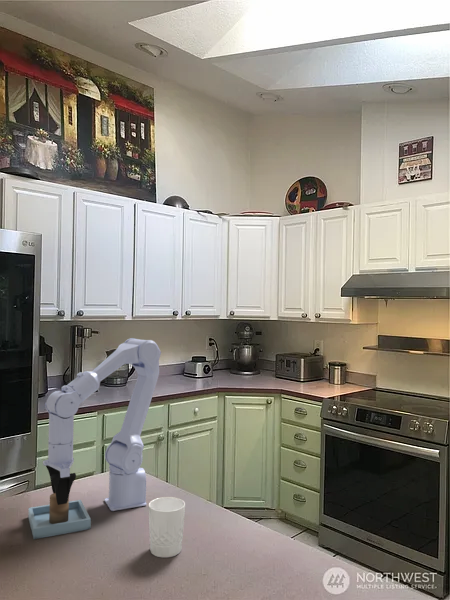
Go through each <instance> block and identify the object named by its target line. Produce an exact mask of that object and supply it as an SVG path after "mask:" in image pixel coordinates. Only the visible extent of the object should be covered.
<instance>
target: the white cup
mask: <svg viewBox="0 0 450 600" xmlns="http://www.w3.org/2000/svg"><path fill="white" fill-rule="evenodd" d="M185 509H186V502H185V500H183V499H181V498H179V497H174V496H162V497H157V498H154V499H152V500H150V501H149V503H148V530H149V533H148V534H149V536H148V537H149V550H150V553H151V554H152V555H153V556H155V557H156V558H157V557H158V558H163V559H164V558H172V557H175V556H177V555H178V554H180V553H181V551H182V545H183V537H184V536H183V535H184V526H185V513H186V512H185V511H186V510H185Z"/></svg>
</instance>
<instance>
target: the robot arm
mask: <svg viewBox="0 0 450 600" xmlns="http://www.w3.org/2000/svg"><path fill="white" fill-rule="evenodd" d="M161 354H162V351H161V349H160V347H159V345H158V344H157V342H155V340H153V339H139V338H134V337H131V338H128V339H126V340H125V341H124V342H122V343H120V344H118V347H117V348H116V349H115V350H114V351H113V352H112V353H111V354H109V356H107V357H106V358H105V359H104V360H103V361H102V362H101V363H99V364H98V365H97V366H96V367H95V368H94V369H93V370H92V371H90V370H89V371H88V370H84V371H82V372H81V371H80V372H78V373H77V374H76V377H75V378H74V379H73V380H71V381H70V382H68V383H67V385H62V386H61V390H56V391H53V392H51V394H49V396H48V397H47V399H46V401H45V403H44V408H45V410H46V411H47V413H48V446H47V447H48V449H47V450H48V455H47V459H46V460H43V461H42V466H45V467H46V469H47V471H48V474H49V479H50V485H51V490H52V491H51V492H52V494H53V493H56V500H57V504H58V505H61V504H66V503H67V501H68V498H69V499H70V492H71V489H72V485H73V484H74V481H75V480H76V477H77V474H76V472H73V473H71V471H70V470H71V467H72V466H73V464H74V462H75V461H74V460H75V459H74V429H75V428H74V418H75V417H74V416H75V415H76V414H77V412H78V410H79V407H80V405H81V404H82V403H83V402H85V401H86V400H87V399H88V398H89V397H91V396H92V395H93V394H94V393H95V392H97V391H98V390H99V389H100V386H101V382H102V381H103V380H105V379H106V378H107V377H109V376H110V375H112V374H113V373H114V372H116V371H117V370H118V369H120V368H121V367H122V366H124V365H128V364H129V365H130V364H131V365H132V366H133V368H134V369H135V371H136V374H137V378H136V382H135V384H134V387H133V389H132V393H131V397H130V400H129V403H128V406H127V409H126V412H125V416H124V419H123V422H122V425H121V428H120V430H119V432H117V433H116V434H115V435H113V437H112V440H111V442H110V444H108V445H107V448H106V450H105V451H104V458H105V461H106V462H107V464H109V465H108V469H109V474H108V475H109V476H108V477H109V478H108V479H109V480H108V482H109V483H108V497H106V498H103V499H104V503H105V504H106V505H107V507H108V509H109V510H110V511H111V512H114V511H120V510H121V511H122V510H126V509H132V508H133V509H134V508H140V507H142V506H143V507H144V506H147V504H148V503H147V498H146V497H147V474H146V471H145V468H143V467H141V466H142V463H143V460H144V459H143V457H144V456H143V451H144V447H145V446H144V443H143V440H142V437H141V435H142V431H143V429H144V425H145V421H146V419H147V416H148V413H149V408H150V405H151V402H152V400H153V399H152V398H153V395H154V394H155V393H154V392H155V388H156V386H157V383H158V379H159V376H160V358H161Z"/></svg>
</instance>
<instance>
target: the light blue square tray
mask: <svg viewBox="0 0 450 600" xmlns="http://www.w3.org/2000/svg"><path fill="white" fill-rule="evenodd" d="M49 510H50V504H44V505H39V506H38V505H37V506H31V507H28V511H27V513H28V515H27V516H28V522H29V526H30V529H31V530H30V531H31V534H32V538H33V540H36V539H38V540H39V539H43V538H48V537H53V536H59V535H65V534H71V533H77V532H81V531H87V530H91V526H92V525H91V524H92V521H91V520H92V519H91V517H90V515H89V513H88V511H87V509H86V507H85V505H84V504H83V501H82V499H78V500H77V499H76V500H69V515H68V521H67V522H63V523H57V524H51V523H50V522H49Z"/></svg>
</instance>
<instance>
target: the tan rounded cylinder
mask: <svg viewBox="0 0 450 600" xmlns="http://www.w3.org/2000/svg"><path fill="white" fill-rule="evenodd" d="M69 501H70V497H69V498H68V501H67V503H66V504H61V505H58V504H57V500H56V493H53V492H52V493H51V494H50V495H49V505H50V510H49V522H50V523H51V524H57V523H63V522H67V521H68V515H69Z"/></svg>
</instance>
